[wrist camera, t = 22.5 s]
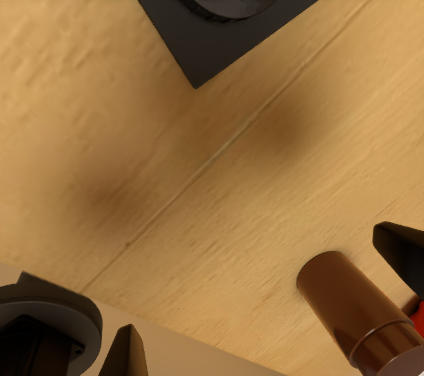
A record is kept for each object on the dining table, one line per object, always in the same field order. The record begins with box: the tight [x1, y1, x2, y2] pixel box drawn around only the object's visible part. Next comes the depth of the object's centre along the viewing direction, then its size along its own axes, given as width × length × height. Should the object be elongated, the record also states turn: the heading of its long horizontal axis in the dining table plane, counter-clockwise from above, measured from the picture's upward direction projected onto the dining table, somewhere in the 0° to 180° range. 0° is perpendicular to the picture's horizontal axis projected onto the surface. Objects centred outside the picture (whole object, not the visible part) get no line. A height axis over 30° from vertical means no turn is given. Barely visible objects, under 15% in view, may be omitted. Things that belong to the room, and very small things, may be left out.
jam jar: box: [297, 252, 424, 376], centre depth 25 cm, size 6×6×10 cm
